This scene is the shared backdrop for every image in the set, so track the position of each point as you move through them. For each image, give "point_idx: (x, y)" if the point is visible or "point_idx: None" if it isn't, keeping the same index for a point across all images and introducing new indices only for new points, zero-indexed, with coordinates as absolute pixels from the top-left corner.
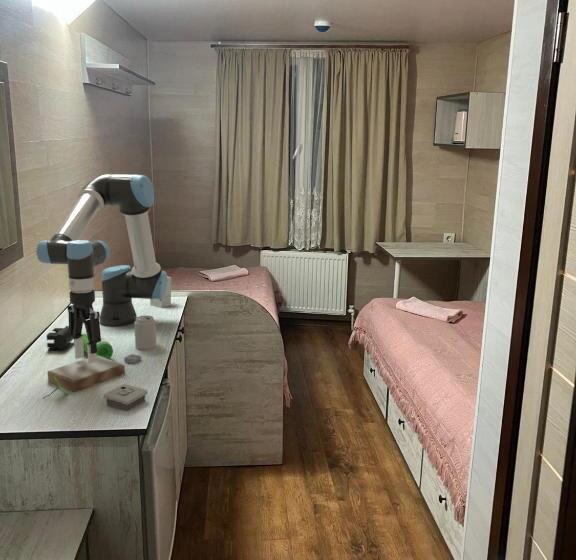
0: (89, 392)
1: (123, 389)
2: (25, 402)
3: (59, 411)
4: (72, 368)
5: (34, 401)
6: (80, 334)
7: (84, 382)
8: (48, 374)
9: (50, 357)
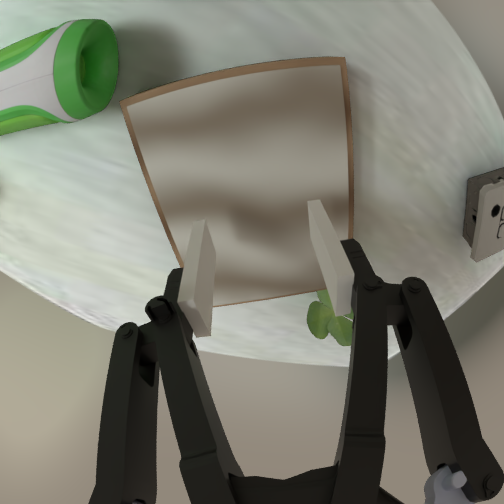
0: (369, 228)
1: (499, 215)
2: (298, 340)
3: None
4: (233, 253)
5: (307, 330)
6: (182, 327)
7: None
8: None
9: (10, 218)
